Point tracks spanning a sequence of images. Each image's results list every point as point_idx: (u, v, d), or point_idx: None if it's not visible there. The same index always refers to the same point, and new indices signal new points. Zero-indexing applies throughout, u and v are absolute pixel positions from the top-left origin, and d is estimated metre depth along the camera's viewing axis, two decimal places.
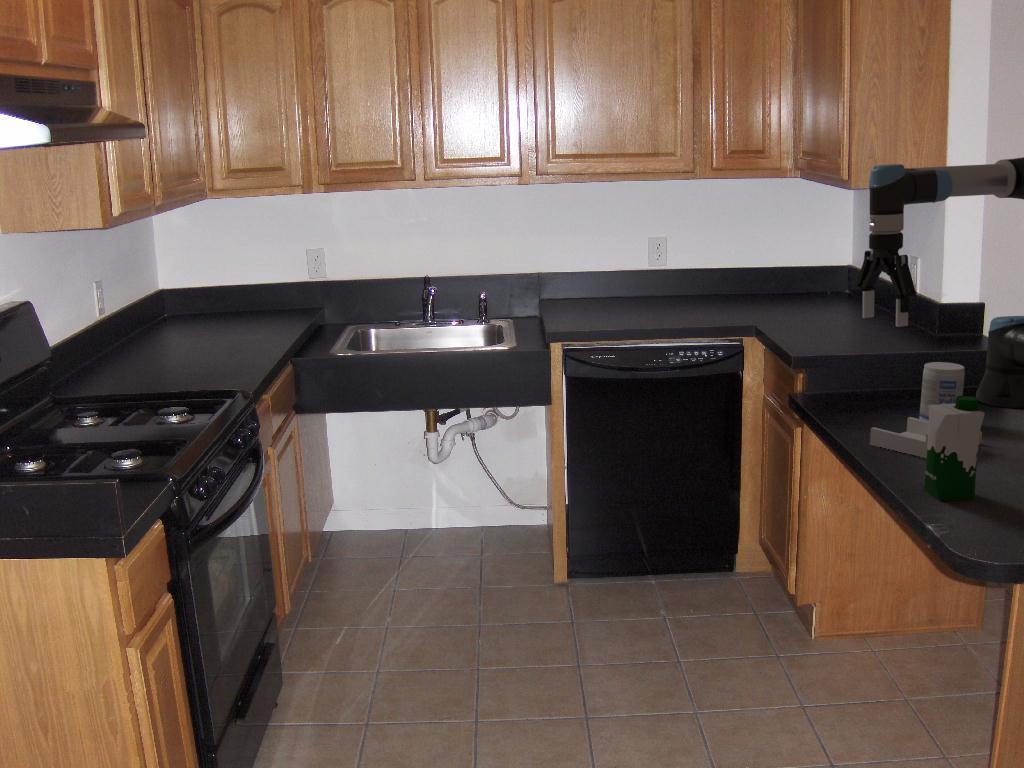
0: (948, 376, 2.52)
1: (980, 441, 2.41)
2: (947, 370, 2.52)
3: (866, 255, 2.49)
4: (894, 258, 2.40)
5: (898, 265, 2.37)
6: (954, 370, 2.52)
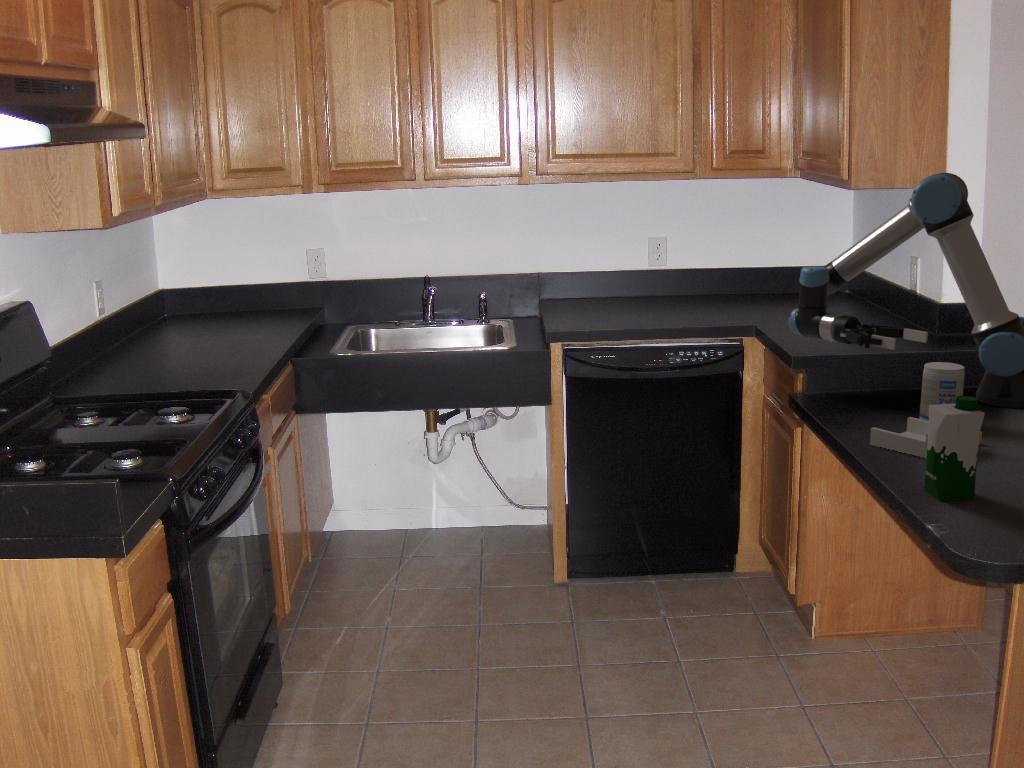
0: (948, 376, 2.52)
1: (980, 441, 2.41)
2: (947, 370, 2.52)
3: None
4: None
5: None
6: (954, 370, 2.52)
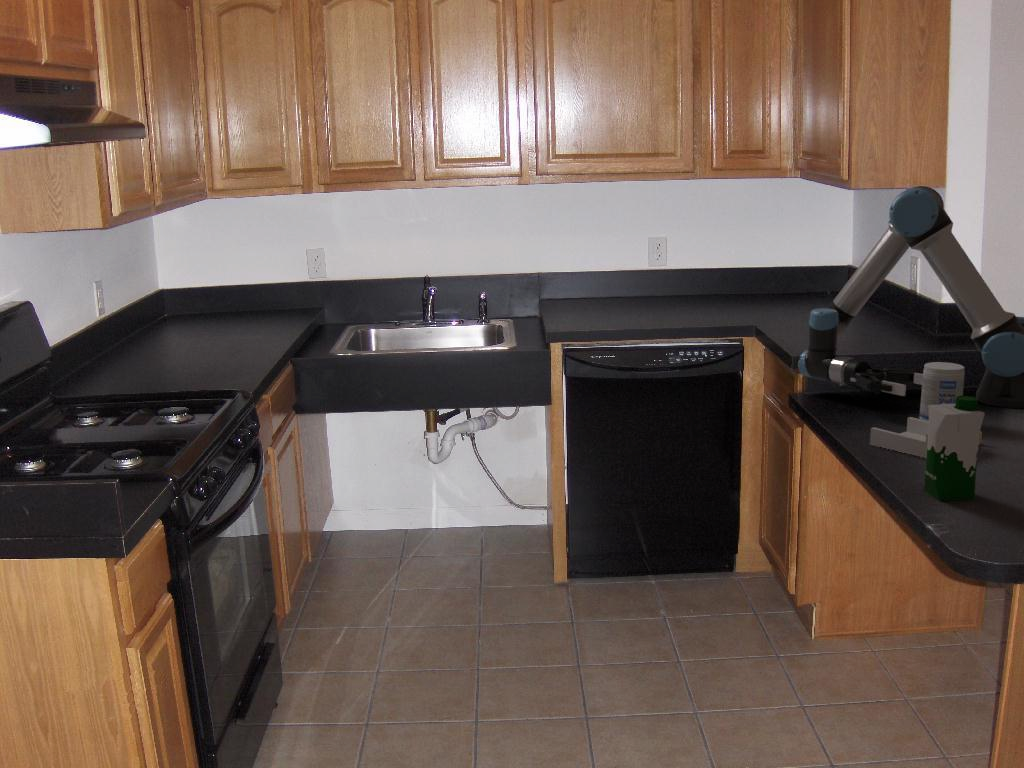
0: (948, 376, 2.52)
1: (980, 441, 2.41)
2: (947, 370, 2.52)
3: None
4: None
5: (856, 384, 2.69)
6: (954, 370, 2.52)
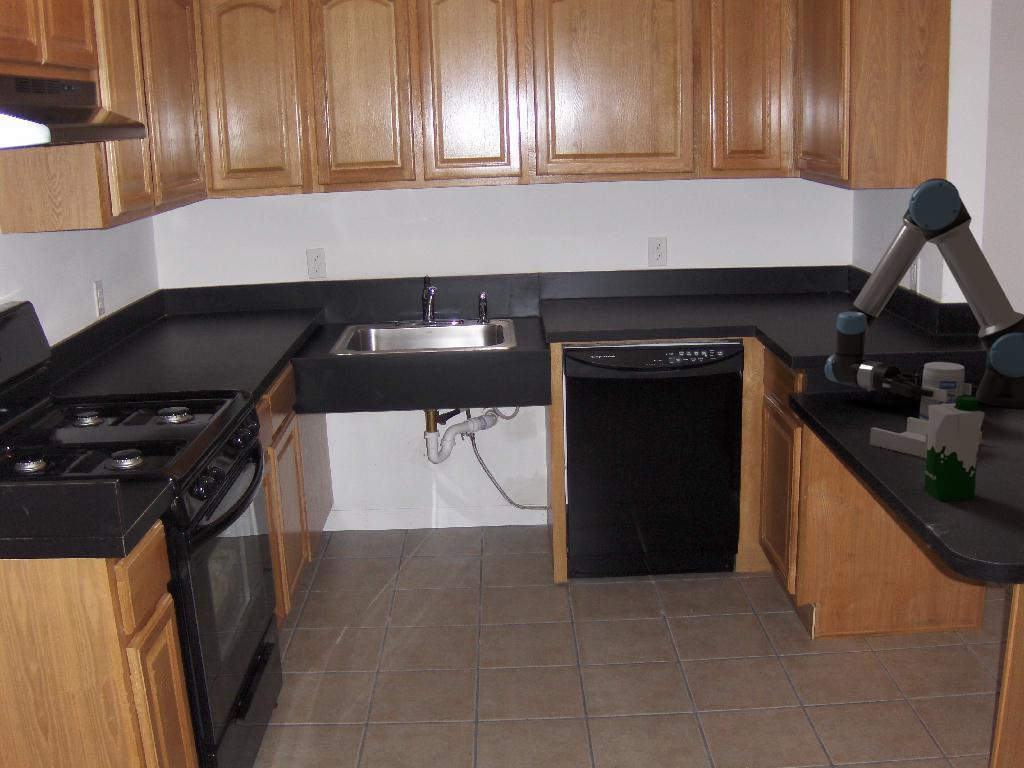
0: (948, 376, 2.52)
1: (980, 441, 2.41)
2: (947, 370, 2.52)
3: (915, 382, 2.70)
4: None
5: (890, 390, 2.62)
6: (954, 370, 2.52)
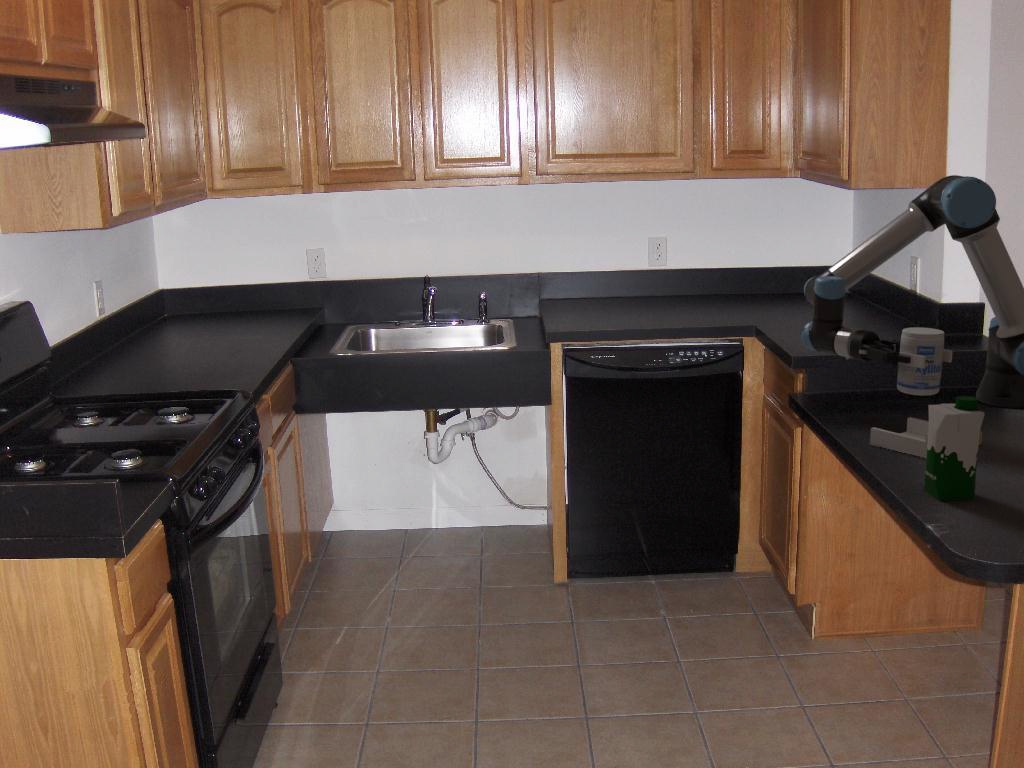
0: (926, 341, 2.38)
1: (980, 441, 2.41)
2: (925, 335, 2.38)
3: None
4: None
5: None
6: (932, 335, 2.38)
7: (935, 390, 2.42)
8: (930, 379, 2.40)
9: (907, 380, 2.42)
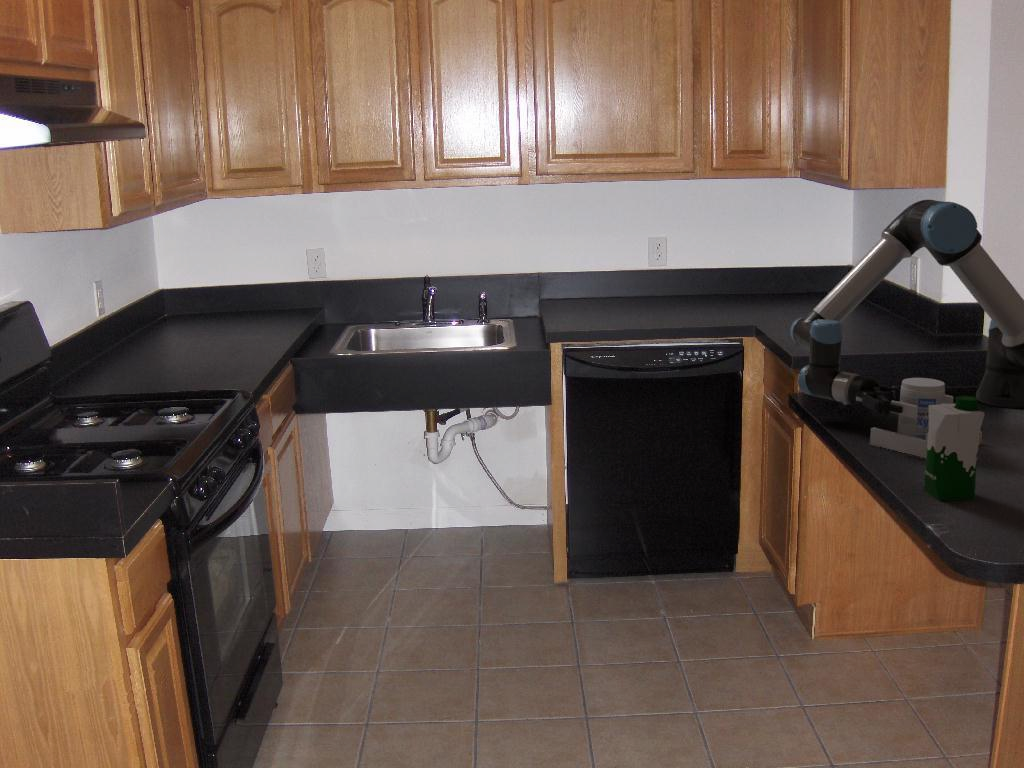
0: (927, 393, 2.33)
1: (980, 441, 2.41)
2: (926, 387, 2.33)
3: None
4: None
5: (862, 404, 2.44)
6: (933, 387, 2.33)
7: None
8: None
9: (907, 433, 2.37)
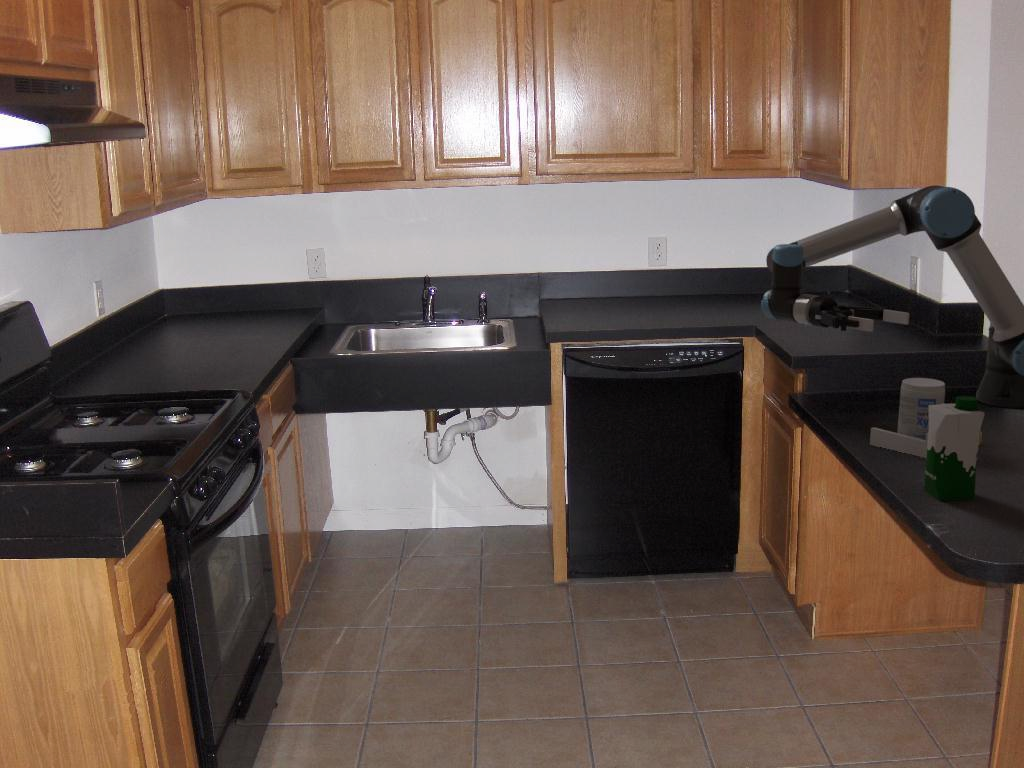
0: (927, 393, 2.33)
1: (980, 441, 2.41)
2: (926, 387, 2.33)
3: None
4: None
5: (821, 322, 2.50)
6: (933, 387, 2.33)
7: None
8: None
9: (907, 433, 2.37)
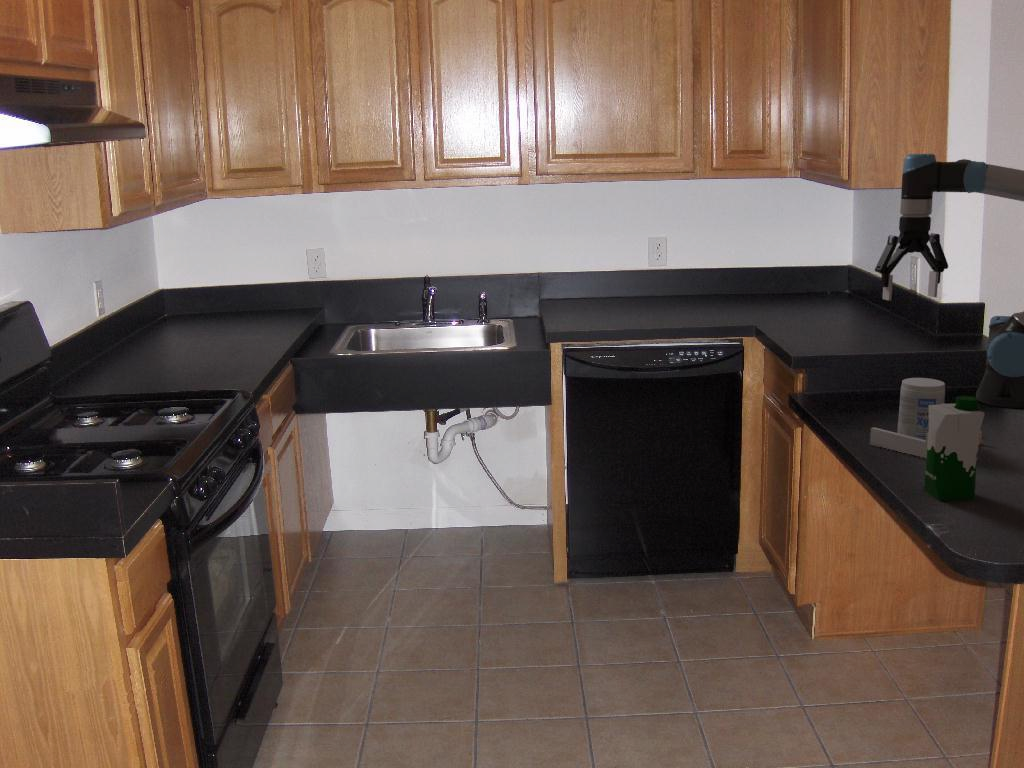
0: (927, 393, 2.33)
1: (980, 441, 2.41)
2: (926, 387, 2.33)
3: None
4: None
5: None
6: (933, 387, 2.33)
7: None
8: None
9: (907, 433, 2.37)
